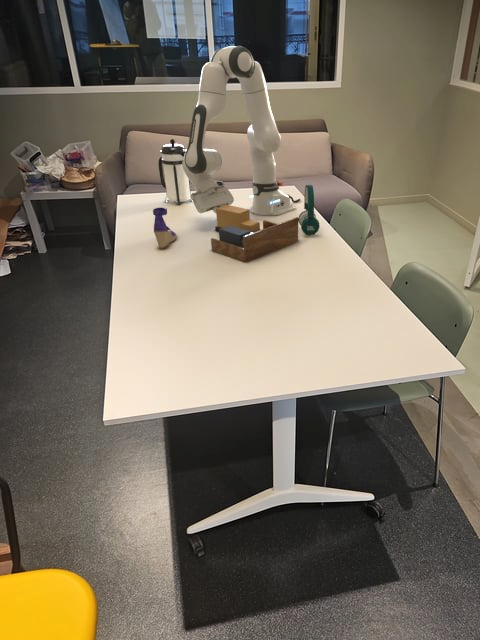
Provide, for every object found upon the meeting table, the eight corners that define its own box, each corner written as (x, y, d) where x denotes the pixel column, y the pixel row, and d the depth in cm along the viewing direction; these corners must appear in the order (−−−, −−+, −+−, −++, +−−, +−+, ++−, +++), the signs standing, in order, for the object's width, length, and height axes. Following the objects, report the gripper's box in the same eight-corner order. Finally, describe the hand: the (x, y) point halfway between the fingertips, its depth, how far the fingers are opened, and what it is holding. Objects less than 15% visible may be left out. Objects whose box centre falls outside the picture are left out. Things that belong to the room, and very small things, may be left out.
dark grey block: (218, 246, 209) (216, 228, 205) (230, 242, 214) (229, 224, 209) (252, 258, 199) (251, 239, 195) (264, 253, 203) (263, 234, 199)
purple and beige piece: (181, 234, 222) (176, 199, 214) (167, 250, 206) (162, 213, 198) (163, 233, 223) (158, 198, 214) (148, 249, 207) (142, 212, 198)
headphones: (315, 226, 232) (316, 180, 220) (319, 237, 220) (321, 189, 208) (297, 226, 231) (298, 181, 220) (301, 237, 219) (301, 189, 208)
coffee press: (195, 196, 273) (189, 136, 255) (192, 205, 260) (185, 141, 242) (163, 197, 272) (154, 136, 255) (158, 205, 259) (149, 141, 242)
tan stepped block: (215, 230, 226) (213, 208, 220) (226, 226, 232) (225, 204, 226) (250, 239, 217) (250, 216, 211) (261, 234, 222) (261, 211, 217)
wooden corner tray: (211, 250, 206) (209, 226, 200) (264, 231, 226) (264, 208, 220) (245, 262, 195) (244, 236, 190) (298, 241, 215) (298, 217, 210)
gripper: (191, 189, 217) (208, 217, 218) (226, 181, 230) (242, 207, 231) (186, 198, 222) (202, 225, 223) (220, 189, 235) (235, 214, 236)
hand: (223, 215), depth 227 cm, fingers closed
